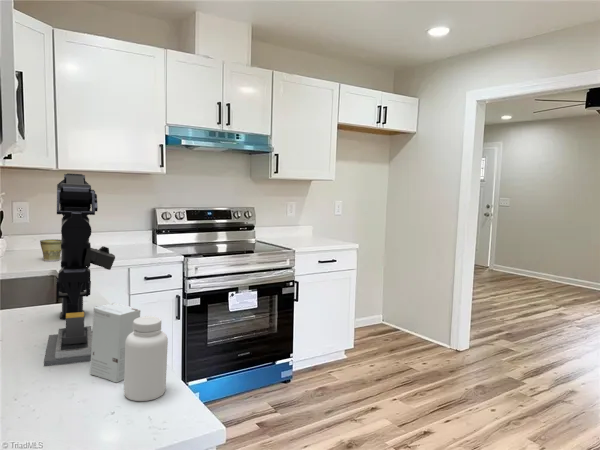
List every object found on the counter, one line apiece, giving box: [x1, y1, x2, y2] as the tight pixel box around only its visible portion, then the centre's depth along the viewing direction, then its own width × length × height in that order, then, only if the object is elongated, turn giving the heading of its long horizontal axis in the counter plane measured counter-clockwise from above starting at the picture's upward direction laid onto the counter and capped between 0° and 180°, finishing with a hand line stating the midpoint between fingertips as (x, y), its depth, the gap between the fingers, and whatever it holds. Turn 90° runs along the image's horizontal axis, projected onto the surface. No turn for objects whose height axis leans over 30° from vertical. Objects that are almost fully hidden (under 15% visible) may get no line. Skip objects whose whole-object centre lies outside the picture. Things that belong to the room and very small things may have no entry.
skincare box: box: [89, 302, 141, 383], centre depth 95 cm, size 8×6×15 cm
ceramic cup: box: [39, 238, 61, 263], centre depth 217 cm, size 13×10×10 cm
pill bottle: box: [123, 315, 169, 402], centre depth 87 cm, size 8×8×15 cm
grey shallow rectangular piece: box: [43, 325, 93, 368], centre depth 108 cm, size 18×12×3 cm, turn 26°
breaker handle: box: [63, 311, 86, 345], centre depth 109 cm, size 4×5×7 cm
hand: (74, 304), depth 103 cm, fingers closed
